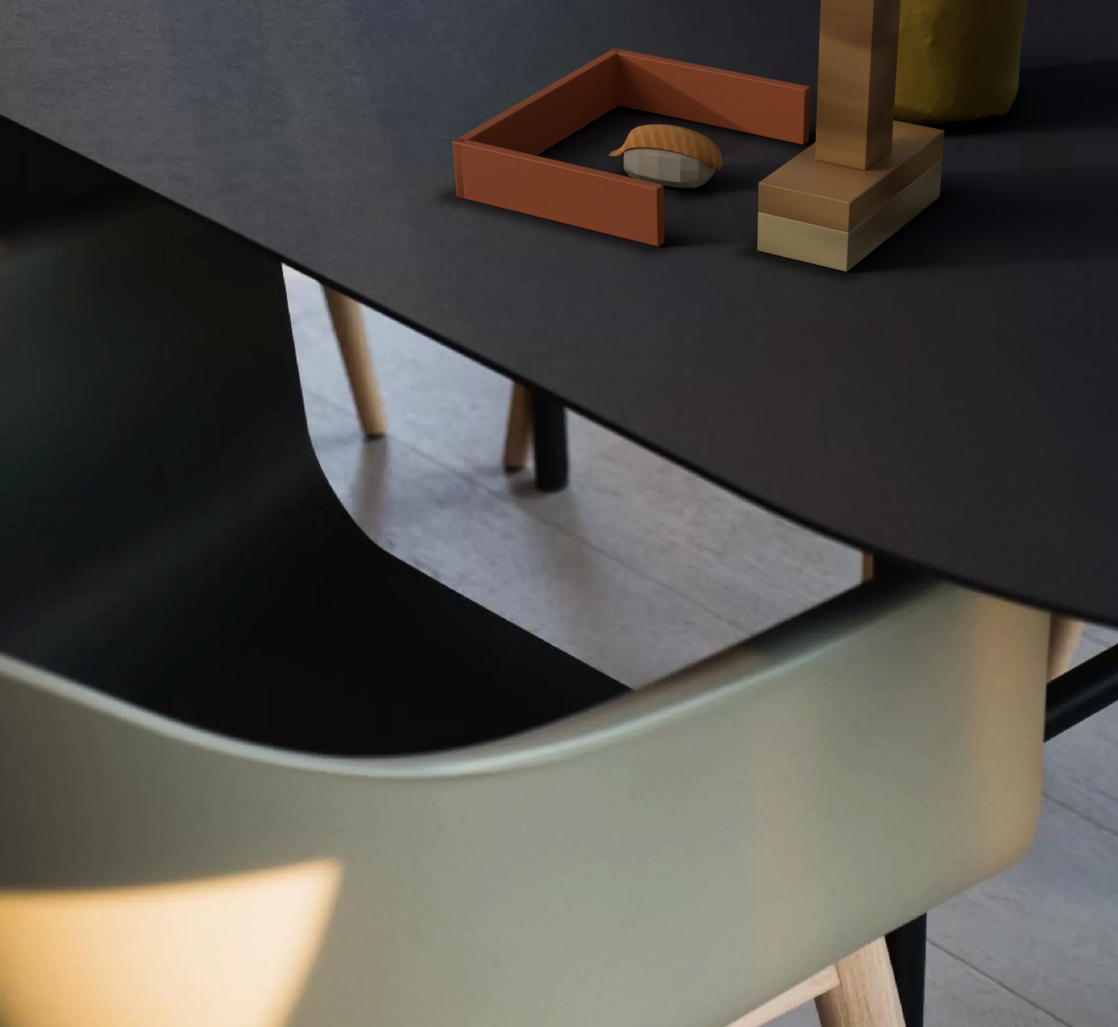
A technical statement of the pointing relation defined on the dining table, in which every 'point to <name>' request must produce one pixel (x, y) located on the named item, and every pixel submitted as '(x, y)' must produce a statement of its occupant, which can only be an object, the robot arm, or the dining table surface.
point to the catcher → (588, 93)
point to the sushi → (669, 156)
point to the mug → (957, 59)
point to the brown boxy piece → (852, 149)
